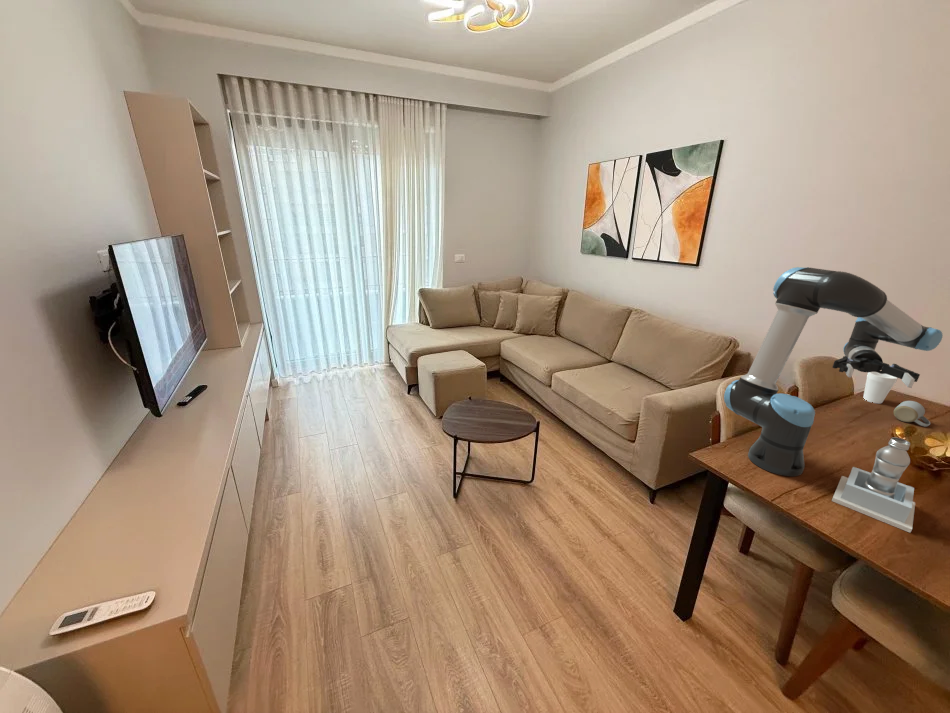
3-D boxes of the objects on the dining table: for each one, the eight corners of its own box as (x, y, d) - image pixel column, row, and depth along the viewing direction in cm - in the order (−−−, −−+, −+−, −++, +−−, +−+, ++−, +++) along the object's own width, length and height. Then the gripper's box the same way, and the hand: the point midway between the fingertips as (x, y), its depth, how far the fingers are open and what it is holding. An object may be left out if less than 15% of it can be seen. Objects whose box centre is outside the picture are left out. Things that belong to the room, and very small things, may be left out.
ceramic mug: (889, 418, 162) (896, 402, 160) (895, 413, 166) (902, 397, 164) (925, 429, 154) (934, 413, 151) (931, 424, 158) (939, 408, 155)
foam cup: (853, 397, 181) (863, 371, 177) (866, 395, 184) (876, 369, 180) (878, 406, 173) (889, 379, 168) (891, 403, 175) (902, 377, 171)
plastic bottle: (880, 510, 108) (908, 449, 102) (853, 494, 114) (877, 436, 108) (896, 505, 110) (925, 445, 103) (868, 490, 116) (893, 433, 109)
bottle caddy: (831, 500, 113) (838, 483, 111) (840, 478, 123) (847, 462, 121) (910, 532, 102) (919, 514, 100) (913, 505, 112) (922, 488, 110)
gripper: (910, 377, 131) (933, 399, 114) (816, 361, 144) (824, 380, 127) (919, 356, 128) (944, 376, 112) (822, 342, 141) (831, 358, 125)
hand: (880, 378), depth 119 cm, fingers open, 13 cm apart
